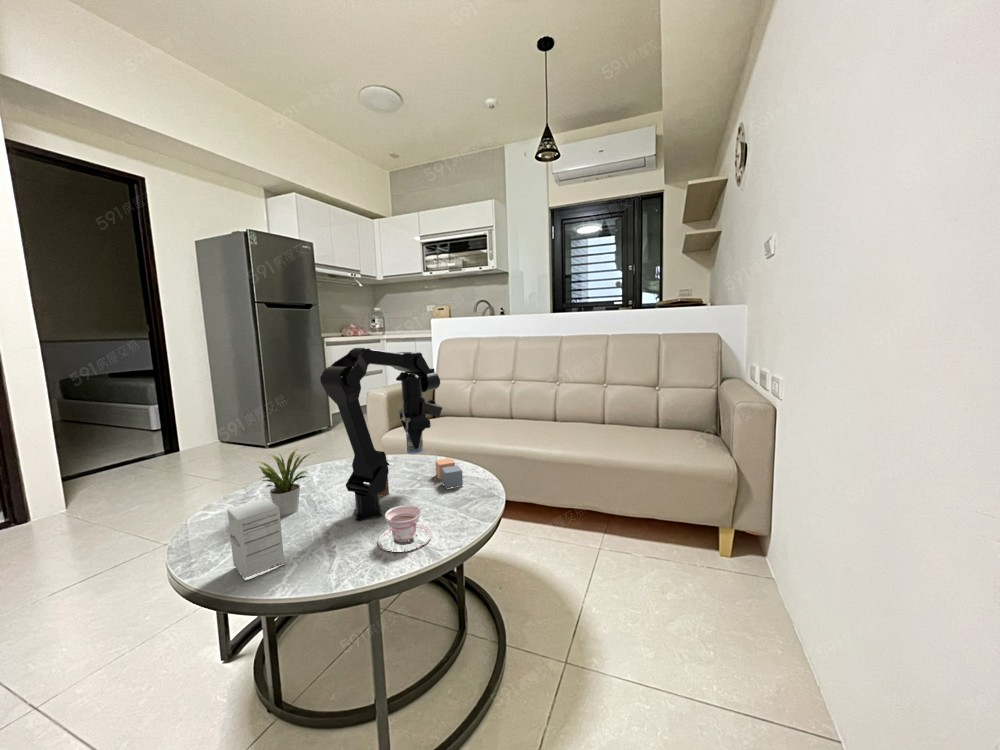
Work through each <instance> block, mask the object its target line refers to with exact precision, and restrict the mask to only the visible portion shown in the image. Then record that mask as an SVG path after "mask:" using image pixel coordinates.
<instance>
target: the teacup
mask: <svg viewBox="0 0 1000 750" xmlns="http://www.w3.org/2000/svg"><path fill="white" fill-rule="evenodd" d="M421 514H422V510H421V509H420V508H418V507H417V506H414V505H399V506H394V507H392V508H389V509H388V510H386V512H385V514H384V519H385V521H386V522H387V523H388V525H389V526H390V528H389V529H387V530H385V531H384V532H383V533H381V534H380V536H379V537H378V539H377V546H378V545H379V546H380V547H381V548H383V546H382V544H381V540H382V538H383V537H384V536H385V535H387V534H388V533H390V532H391V531H392V537H393V538H394V539H395V540H396V541H397V542H398V541H400V542H399V543H401V542H404V543H406V542H405V541H408V540H410V539H411V540H412V539H413V537H415V536H416V535H415V534H416V528H420V529H424V530H425V531H426V532H427V533H428V534H429V536H428V537H429V538H428V540H427V541H426V542H425V543H424V544H426V543H427V542H428V541H429V540H430V539H431V540H432V538H433V531H432V529H431V528H430V527H428V526H425V525H424V524H419V523H418V521H419V518H420V517H421ZM431 537H432V538H431ZM411 540H410V541H411ZM431 540H430V541H431ZM430 541H429V542H430ZM408 542H409V541H408ZM429 542H428V543H429ZM428 543H427V544H428ZM424 544H422V545H424ZM427 544H426V545H427ZM422 545H420V546H419V547H421V546H422ZM379 546H378V547H379ZM424 546H425V545H424ZM380 547H379V548H380ZM381 548H380V549H381ZM416 548H418V547H416ZM421 548H422V547H421ZM383 549H385V548H383ZM413 549H414V548H413ZM385 550H387V549H385ZM391 551H392V550H391ZM404 551H405V550H404Z"/></svg>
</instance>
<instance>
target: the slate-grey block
mask: <svg viewBox="0 0 1000 750" xmlns="http://www.w3.org/2000/svg"><path fill="white" fill-rule="evenodd" d="M463 479H464V477H463V470H462V469H461V467H460V466H458V464H457V465H455V466H451V467H444V468H442V480H441V481H442V483H443V484H444V485H443V484H442V485H443V487H444V488H445V487H446V488H445V489H446V490H448V489H447V488H451V487H457V486H462V485H463V486H464V483H463V482H464V481H463ZM463 486H462V487H463ZM457 488H458V487H457ZM451 489H452V488H451Z"/></svg>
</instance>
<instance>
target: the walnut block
mask: <svg viewBox="0 0 1000 750" xmlns="http://www.w3.org/2000/svg"><path fill="white" fill-rule="evenodd" d="M368 484H370V485H371V483H368ZM389 488H390V487H389V477H387V482H386V488H385V490H384V491H382V492H380V493H378V494H379V497H381V496H388V495H390V491H389Z"/></svg>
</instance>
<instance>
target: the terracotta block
mask: <svg viewBox="0 0 1000 750" xmlns="http://www.w3.org/2000/svg"><path fill="white" fill-rule="evenodd" d="M455 464H456V463H455V461H454V460H453V459H452V458H451V457H449V458H448V457H447V458H442V459H436V460H435V475H436V477H437V476H438V477H439V478H438V477H437V478H438V479H439V481H442V480H441V479H442V468H444V467H451V466H456V465H455Z"/></svg>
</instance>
